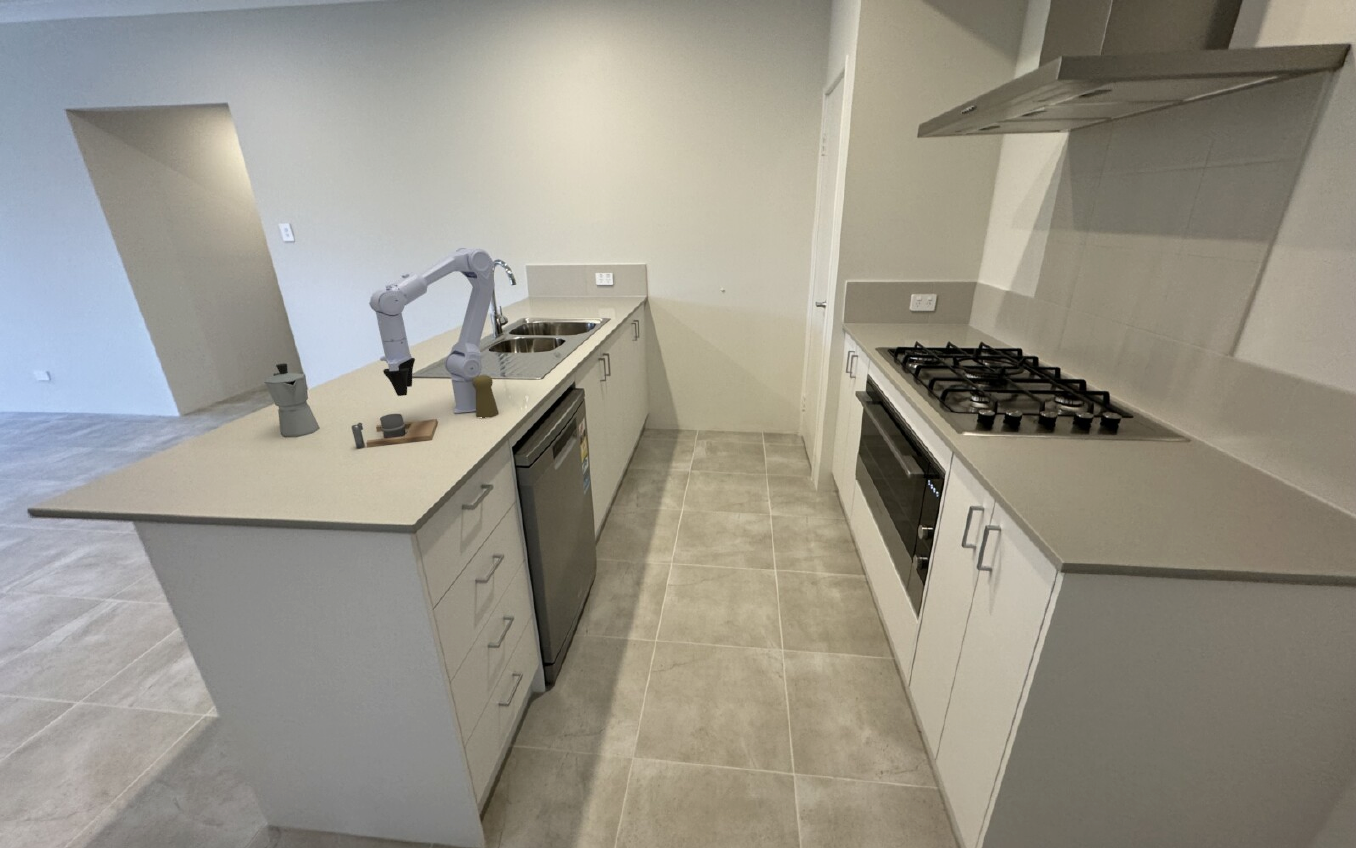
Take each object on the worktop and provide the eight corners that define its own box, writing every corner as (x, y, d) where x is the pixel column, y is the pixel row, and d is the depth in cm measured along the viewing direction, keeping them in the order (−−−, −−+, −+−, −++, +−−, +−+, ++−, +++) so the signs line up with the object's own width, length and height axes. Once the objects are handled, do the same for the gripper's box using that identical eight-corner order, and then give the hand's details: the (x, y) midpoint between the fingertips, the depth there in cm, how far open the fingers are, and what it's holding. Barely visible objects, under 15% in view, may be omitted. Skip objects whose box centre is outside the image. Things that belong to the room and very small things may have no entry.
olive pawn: (503, 412, 154) (498, 374, 150) (488, 419, 149) (482, 380, 145) (486, 409, 156) (481, 372, 152) (471, 416, 151) (464, 377, 147)
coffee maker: (327, 432, 142) (309, 364, 136) (287, 442, 136) (266, 372, 130) (309, 419, 152) (292, 355, 145) (272, 428, 146) (251, 361, 139)
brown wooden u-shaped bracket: (437, 423, 147) (437, 418, 147) (431, 439, 136) (430, 435, 136) (378, 429, 143) (377, 425, 143) (367, 447, 133) (366, 442, 132)
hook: (368, 440, 136) (363, 420, 134) (364, 448, 132) (358, 426, 130) (360, 441, 136) (355, 420, 134) (355, 449, 132) (350, 427, 130)
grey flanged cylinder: (407, 430, 143) (403, 412, 141) (405, 437, 138) (401, 419, 136) (384, 433, 141) (380, 415, 139) (382, 441, 136) (378, 422, 134)
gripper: (382, 334, 143) (393, 384, 148) (369, 346, 130) (382, 401, 135) (412, 332, 145) (421, 381, 150) (402, 344, 132) (413, 398, 137)
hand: (405, 390), depth 143 cm, fingers open, 7 cm apart
